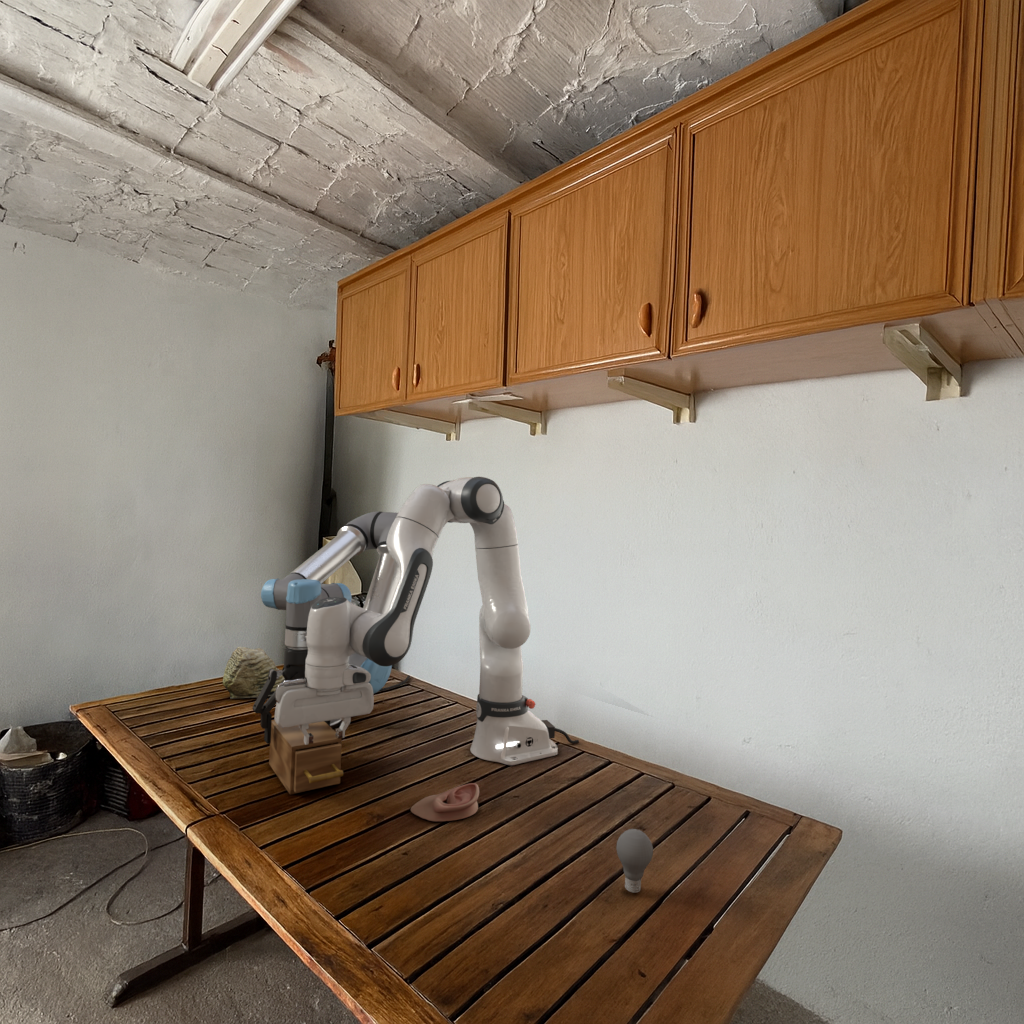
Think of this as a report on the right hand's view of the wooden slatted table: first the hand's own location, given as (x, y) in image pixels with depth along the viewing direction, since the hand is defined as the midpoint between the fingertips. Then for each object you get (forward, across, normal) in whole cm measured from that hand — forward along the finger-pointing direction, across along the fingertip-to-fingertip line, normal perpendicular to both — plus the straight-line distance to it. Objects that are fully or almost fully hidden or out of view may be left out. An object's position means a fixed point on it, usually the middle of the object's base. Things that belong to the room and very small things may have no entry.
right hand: (324, 740), depth 133 cm
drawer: (+11, 0, +8) cm, 14 cm away
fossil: (+12, +3, +76) cm, 77 cm away
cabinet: (+12, 0, +13) cm, 18 cm away
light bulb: (+12, +34, -57) cm, 67 cm away
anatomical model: (+12, +20, -17) cm, 29 cm away
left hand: (+5, 0, +18) cm, 19 cm away
